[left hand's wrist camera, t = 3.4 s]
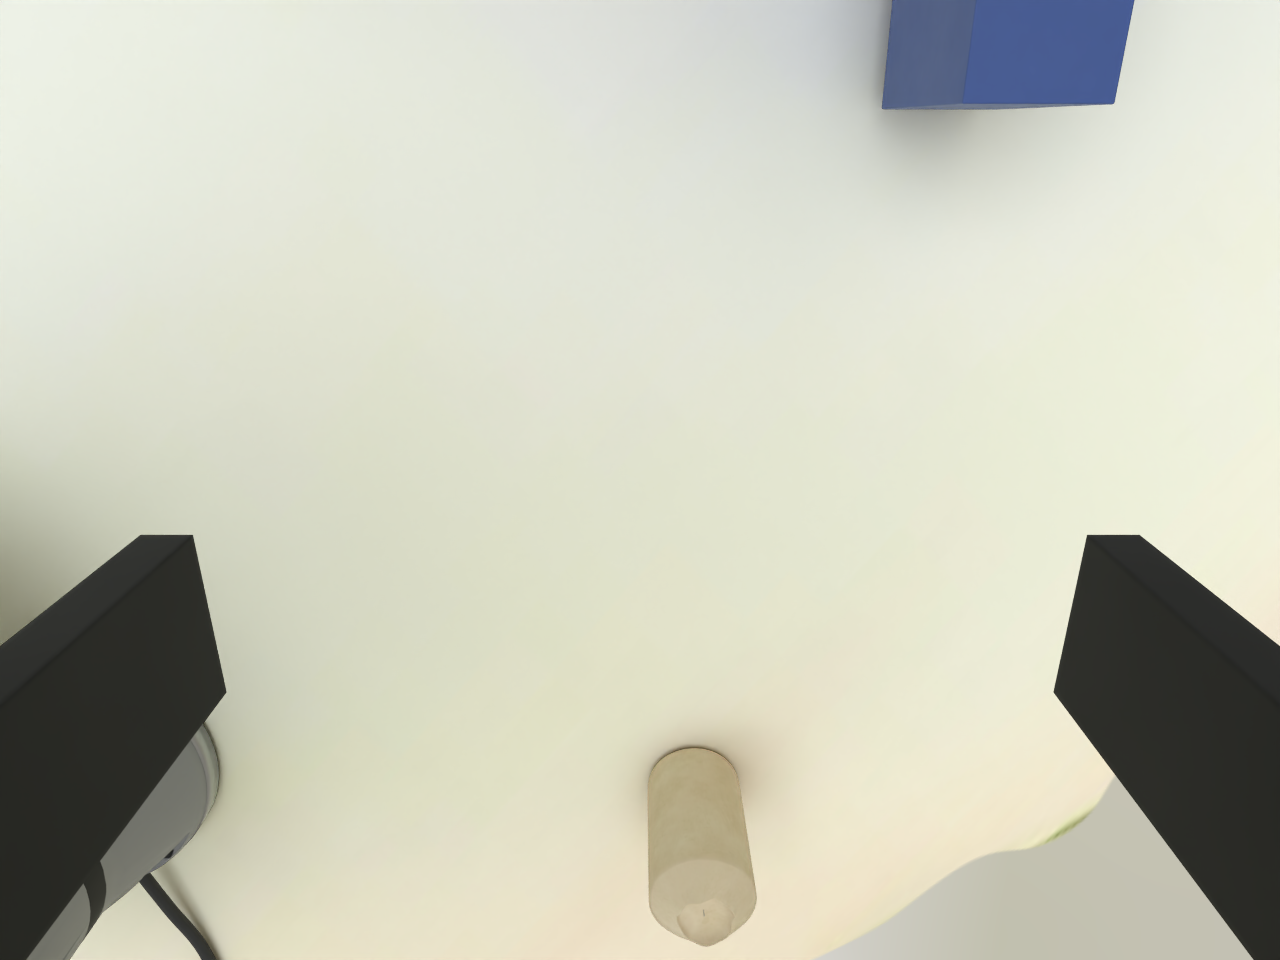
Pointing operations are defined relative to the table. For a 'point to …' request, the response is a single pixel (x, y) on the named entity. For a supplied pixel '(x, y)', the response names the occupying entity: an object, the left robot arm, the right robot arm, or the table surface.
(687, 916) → the candle
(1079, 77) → the bar
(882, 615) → the table surface
